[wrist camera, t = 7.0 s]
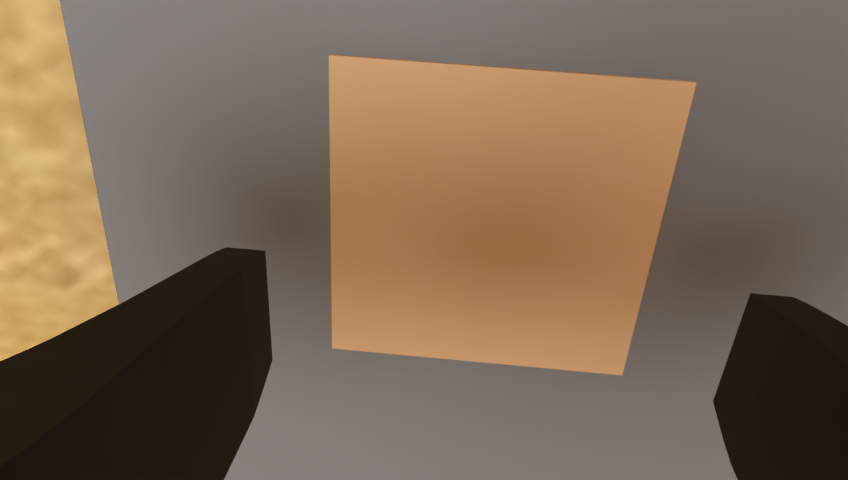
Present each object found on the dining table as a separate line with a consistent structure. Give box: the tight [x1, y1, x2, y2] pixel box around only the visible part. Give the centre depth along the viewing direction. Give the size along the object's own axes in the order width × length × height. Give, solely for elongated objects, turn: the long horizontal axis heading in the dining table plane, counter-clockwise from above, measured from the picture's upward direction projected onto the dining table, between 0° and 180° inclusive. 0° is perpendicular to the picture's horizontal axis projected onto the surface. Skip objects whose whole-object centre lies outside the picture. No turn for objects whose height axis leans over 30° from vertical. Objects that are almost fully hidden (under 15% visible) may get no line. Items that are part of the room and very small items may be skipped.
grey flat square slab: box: [60, 0, 848, 480], centre depth 14 cm, size 16×16×3 cm
